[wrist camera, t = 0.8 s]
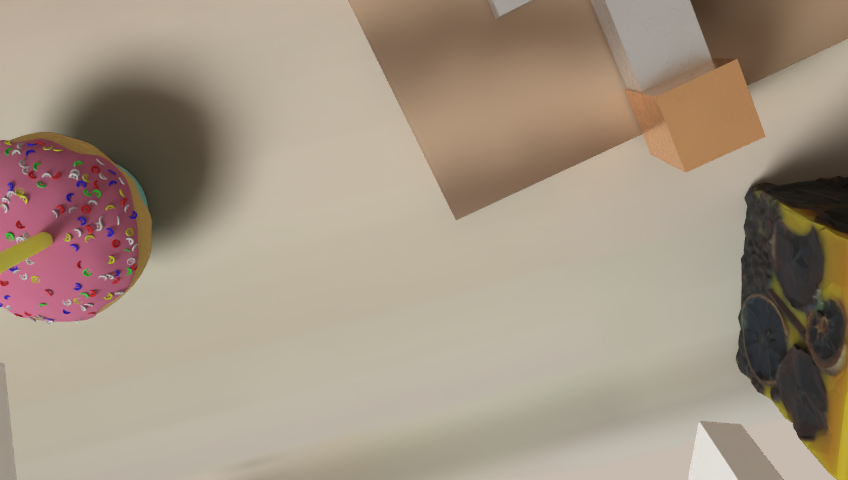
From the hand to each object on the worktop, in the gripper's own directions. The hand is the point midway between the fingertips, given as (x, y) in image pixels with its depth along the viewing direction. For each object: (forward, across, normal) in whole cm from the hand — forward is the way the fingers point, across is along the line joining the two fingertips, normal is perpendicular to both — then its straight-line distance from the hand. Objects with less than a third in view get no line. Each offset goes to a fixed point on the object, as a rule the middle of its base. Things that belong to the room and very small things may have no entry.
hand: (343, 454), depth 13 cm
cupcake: (+22, -16, -1) cm, 27 cm away
